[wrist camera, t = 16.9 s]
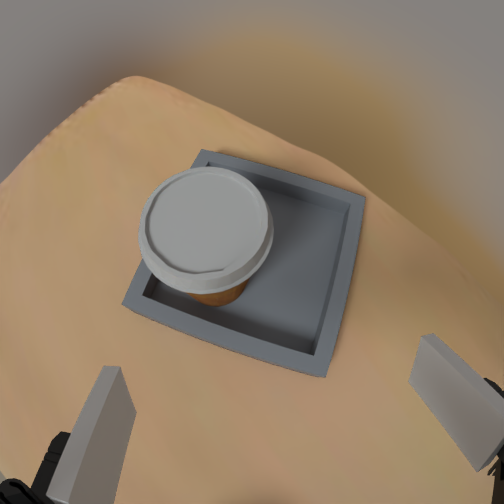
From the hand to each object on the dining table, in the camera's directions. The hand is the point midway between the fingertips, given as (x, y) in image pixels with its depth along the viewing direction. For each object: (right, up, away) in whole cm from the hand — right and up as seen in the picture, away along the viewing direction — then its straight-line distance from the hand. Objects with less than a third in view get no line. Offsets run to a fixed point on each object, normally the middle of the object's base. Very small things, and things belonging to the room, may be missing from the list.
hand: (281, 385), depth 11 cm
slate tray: (-1, +5, +21) cm, 21 cm away
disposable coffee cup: (-5, +3, +19) cm, 20 cm away
